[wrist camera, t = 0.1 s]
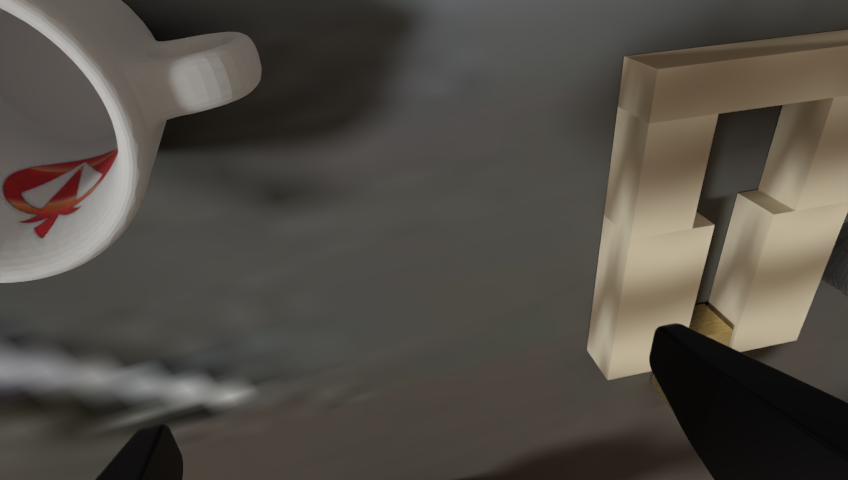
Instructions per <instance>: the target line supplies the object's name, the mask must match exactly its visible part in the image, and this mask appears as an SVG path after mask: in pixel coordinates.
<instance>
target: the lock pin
mask: <svg viewBox="0 0 848 480" xmlns="http://www.w3.org/2000/svg"><path fill="white" fill-rule="evenodd" d="M689 328H690V329H693V330H695V331H697V332H699V333H701V334H703V335H705V336H707V337H709V338H712V339H714V340H716V341H718V342H720V343H722V344H724V345H726V346H728V345H729V341H730V338H731V335H732V332H733V330H732V329H731V328H730V327H729V326H728V325H727V324H726V323H724V322H723V321H722V320H721V319H720V318H719V317H718V316H717V315H716V314H715V313H714V312H713V311H711V310H710V309H709V308H708V307H707V306H706V305H705V304H704V303H703V304H698V305H694V309H693V313H692V317H691V321H690V325H689ZM651 384H652V385H653V386H654V388H655V389H656V390H657V392H658V393H659V394H660V395H661V397H662V398H663V399H664V401H665V402H666V403H667V404H668V406H669V407H670V408H671V406H670V404H669V402H668V401H667V399H666V397H665V395H664V393H663V391H662V389H661V387H660V385H659V383H658V381H657V380H656V378H655V376H654V374H653V376H652V381H651ZM671 410H672V408H671ZM672 411H673V410H672Z"/></svg>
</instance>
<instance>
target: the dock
mask: <svg viewBox="0 0 848 480" xmlns="http://www.w3.org/2000/svg"><path fill="white" fill-rule="evenodd" d="M778 105H783V106H782V109H781V113H780V116H779V120H778V123H777V126H776V130H775V133H774V137H773V140H772V144H771V147H770V150H769V154H768V157H767V161H766V164H765V168H764V171H763V174H762V178H761V181H760V185H759V188H758V190H753V191H747V192H741V193H738V194H737V198H736V202H735V206H734V209H733V213H732V217H731V220H730V224H729V228H728V231H727V235H726V239H725V243H724V246H723V250H722V254H721V257H720V261H719V265H718V269H717V272H716V276H715V280H714V283H713V287H712V291H711V294H710V298H709V302H708V306H707V307H708V308H709V309H710V310H711V311H713V312H714V313H715V314H716V315H717V316H718V317H719V318H720V319H721V320H722V321H723V322H724V323H726V324H727V325H728V326H729V327H730V328H731V329H732V330H733V332H732V335H731V338H730V341H729V345H728V347H731V348H733V349H735V350H737V351H739V352H743V351H748V350H753V349H757V348H762V347H767V346H772V345H776V344H781V343H786V342H790V341H795V340H797V338H798V335H799V333H800V330H801V328H802V325H803V323H804V320H805V318H806V315H807V313H808V310H809V308H810V305H811V303H812V300H813V298H814V295H815V293H816V290H817V287H818V285H819V282H820V280H821V277H822V275H823V272H824V270H825V267H826V265H827V262H828V260H829V257H830V255H831V252H832V250H833V247H834V245H835V242H836V240H837V237H838V235H839V232H840V230H841V227H842V225H843V222H844V220H845V217H846V215H847V212H848V30H839V31H831V32H823V33H814V34H806V35H798V36H789V37H781V38H772V39H764V40H756V41H747V42H739V43H731V44H722V45H714V46H705V47H697V48H689V49H680V50H672V51H664V52H655V53H647V54H639V55H630V56H624V63H623V70H622V78H621V86H620V94H619V102H618V110H617V118H616V125H615V133H614V141H613V149H612V157H611V165H610V173H609V180H608V188H607V196H606V204H605V212H604V220H603V228H602V235H601V243H600V251H599V259H598V267H597V275H596V283H595V290H594V298H593V306H592V314H591V322H590V330H589V338H588V345H587V351H588V352H589V354H590V355H591V357H592V358H593V360H594V361H595V363H596V364H597V365H598V367H599V368H600V370H601V371H602V373H603V374H604V376H605V377H606V379H607V380H611V379H616V378H620V377H625V376H630V375H635V374H639V373H644V372H649V371H652V370H651V367H650V363H649V356H650V351H651V347H652V342H653V337H654V333H655V330H656V329H657V328H658V327H659V326H663V325H668V324H674V323H679V324H682V325H684V326H686V327H688V328H689V325H690V321H691V317H692V313H693V309H694V305H695V301H696V298H697V294H698V290H699V286H700V282H701V278H702V274H703V270H704V266H705V262H706V258H707V254H708V250H709V246H710V242H711V238H712V234H713V231H714V227H715V224H713V223H712V222H710V221H709V220H708V219H706V218H705V217H703V216H702V215H700V214H699V213H698V212H696V210H697V206H698V202H699V197H700V193H701V188H702V184H703V180H704V175H705V171H706V167H707V162H708V158H709V154H710V149H711V145H712V140H713V136H714V132H715V127H716V123H717V119H718V114H721V113H728V112H735V111H742V110H749V109H756V108H764V107H771V106H778Z"/></svg>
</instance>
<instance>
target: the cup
mask: <svg viewBox="0 0 848 480" xmlns="http://www.w3.org/2000/svg"><path fill="white" fill-rule="evenodd" d="M261 72H262V67H261V63H260V59H259V54H258V52H257V49H256V47H255V45H254V43H253V42H252V40H251V39H250V38H249V37H248V36H247V35H245V34H242V33H239V32H220V33H212V34H204V35H198V36H192V37H187V38H182V39H177V40H170V41H160V42H159V41H156V40H155V38H154V37H153V35H152V33H151V32H150V31H149V29H148V28H147V26H146V25H145V24H144V22H143V21H142V20H141V19H140V18H139V17H138V16H137V15H136V14H135V13H134V12H133V10H132V9H131V8H130V7H129V6H127V5H126V4H125V3H124V2H123V1H122V0H0V283H11V282H23V281H30V280H36V279H42V278H45V277H49V276H53V275H57V274H60V273H63V272H66V271H68V270H71V269H74V268H76V267H78V266H80V265H82V264H84V263H86V262H88V261H90V260H91V259H93V258H95V257H96V256H98V255H99V254H101V253H102V252H103V251H105V250H106V249H107V248H108V247H110V246H111V245H112V244H113V243H114V242H115V241H116V240H117V239H118V238H119V237H120V236H121V235H122V233H123V232H124V231H125V230H126V229H127V227H128V226H129V224H130V223H131V221H132V220H133V218H134V217H135V215H136V213H137V211H138V209H139V207H140V205H141V203H142V200H143V197H144V194H145V191H146V188H147V184H148V181H149V178H150V174H151V171H152V168H153V164H154V161H155V158H156V154H157V151H158V148H159V144H160V141H161V138H162V134H163V131H164V128H165V124H166V121H167V120H168V119H172V118H175V117H179V116H183V115H188V114H193V113H197V112H201V111H205V110H209V109H212V108H216V107H219V106H222V105H226V104H229V103H231V102H234V101H236V100H238V99H240V98H242V97H244V96H246V95H247V94H249V93H250V92H252V91H253V90H254V88H255V87H256V86H257V85H258V84H259V82H260V80H261Z"/></svg>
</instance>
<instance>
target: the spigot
mask: <svg viewBox="0 0 848 480" xmlns="http://www.w3.org/2000/svg"><path fill="white" fill-rule="evenodd" d="M821 279H822V280H823V281H825V282H826V283H828V284H829V285H831V286H832V287H834V288H835V289H837V290H838V291H840V292H841V293H843V294H844V295H846V296H847V297H848V223H845V224H843V225H842V227H841V230H840V232H839V235H838V237H837V240H836V242H835V245H834V247H833V250H832V252H831V255H830V257H829V260H828V262H827V265H826V267H825V270H824V272H823V275H822V277H821Z"/></svg>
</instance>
